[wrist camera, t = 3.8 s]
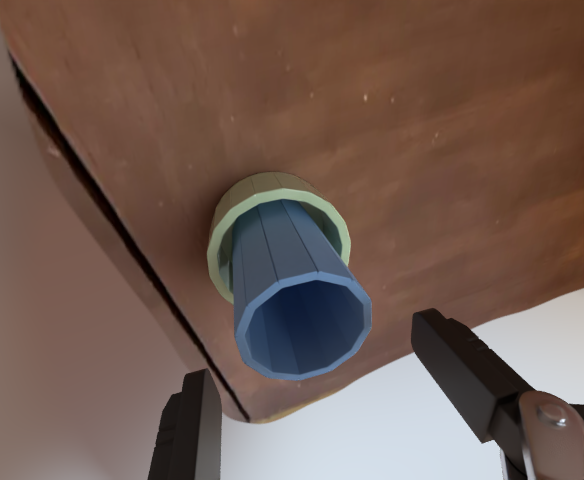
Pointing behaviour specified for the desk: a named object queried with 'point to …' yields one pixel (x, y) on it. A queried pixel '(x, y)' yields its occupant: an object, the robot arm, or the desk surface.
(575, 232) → the desk surface
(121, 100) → the desk surface
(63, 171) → the desk surface
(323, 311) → the blue cup
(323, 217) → the green cup
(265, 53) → the desk surface
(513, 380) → the robot arm
